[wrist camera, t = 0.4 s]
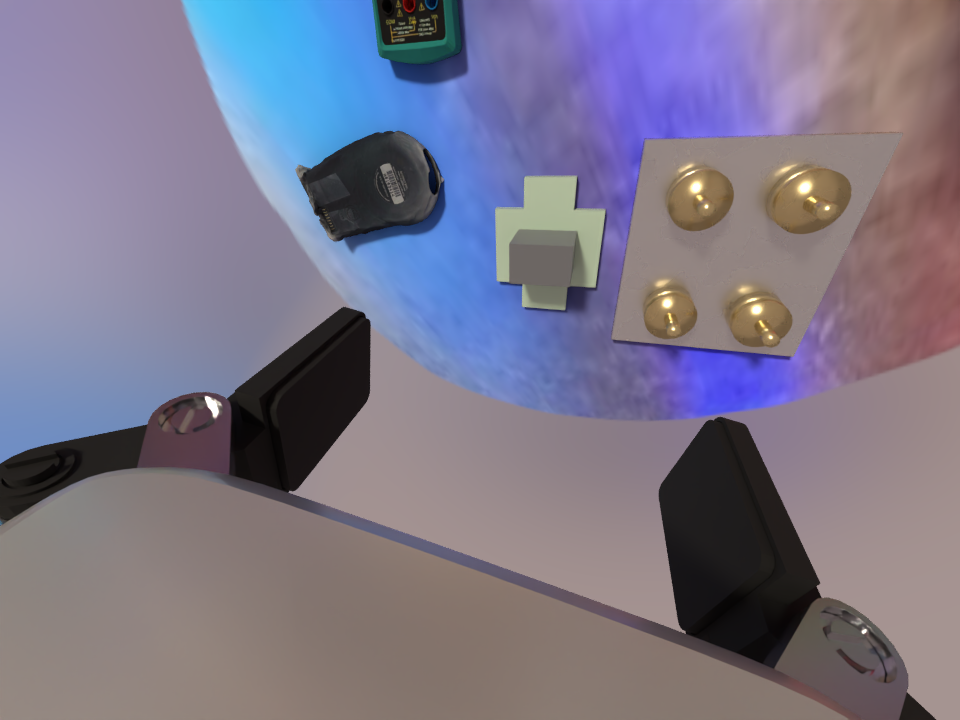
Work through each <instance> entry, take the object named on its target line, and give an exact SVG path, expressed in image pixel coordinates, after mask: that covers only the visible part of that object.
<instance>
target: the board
mask: <svg viewBox="0 0 960 720" xmlns="http://www.w3.org/2000/svg"><path fill="white" fill-rule="evenodd" d="M576 185H577V176H525V177H524V208H520V207H497V208H496V209H495V214H496V260H497V281H501V282H509V283H512V284H523V289H522V307H532V308H544V309H557V310H565V309H566V299H567V288H568V287H570V286H578V287H594V288H595V287H596V279H597V271H598V264H599V256H600V249H601V241H602V233H603V226H604V218H605V209H582V208H575V197H576Z"/></svg>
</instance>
